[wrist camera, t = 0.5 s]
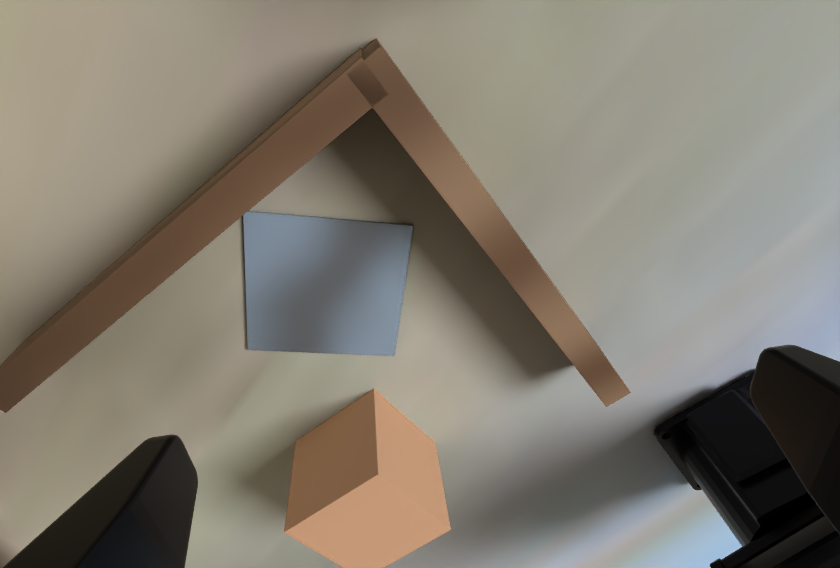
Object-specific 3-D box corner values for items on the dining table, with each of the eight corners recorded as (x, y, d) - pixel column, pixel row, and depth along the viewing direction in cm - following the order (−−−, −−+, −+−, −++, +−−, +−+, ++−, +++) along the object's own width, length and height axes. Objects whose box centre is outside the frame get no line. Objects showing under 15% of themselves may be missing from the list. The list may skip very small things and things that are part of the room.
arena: (600, 349, 24) (630, 392, 22) (312, 526, 28) (308, 580, 26) (374, 35, 16) (378, 43, 14) (21, 343, 20) (-28, 394, 18)
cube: (435, 441, 26) (450, 529, 22) (361, 486, 27) (362, 579, 23) (373, 387, 24) (378, 474, 19) (296, 439, 25) (283, 532, 21)
